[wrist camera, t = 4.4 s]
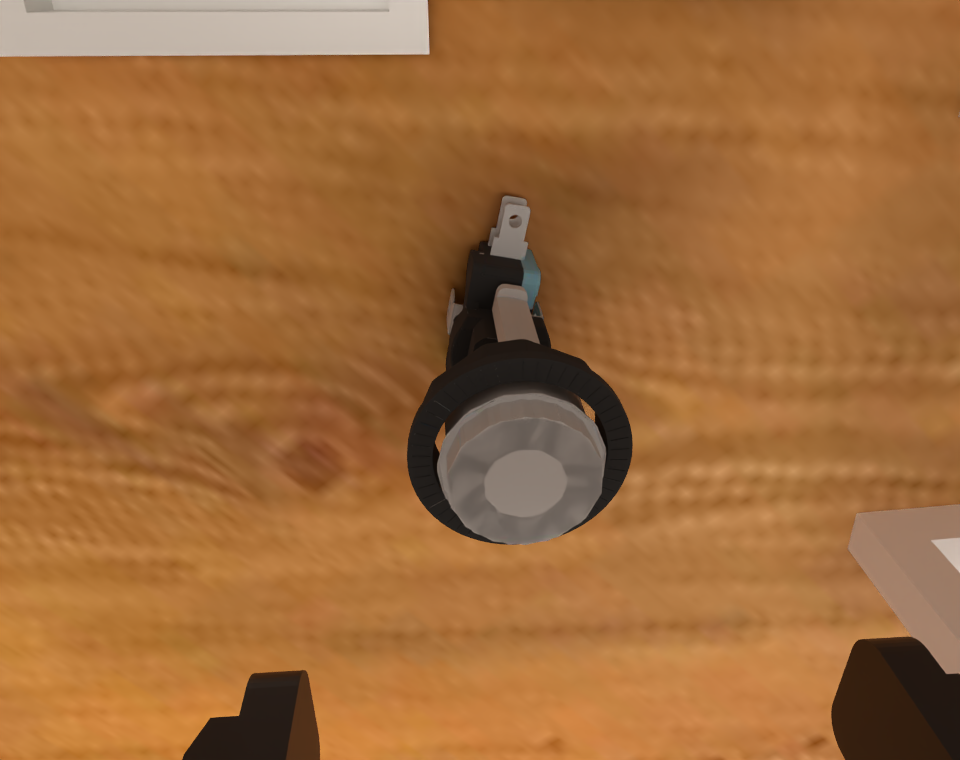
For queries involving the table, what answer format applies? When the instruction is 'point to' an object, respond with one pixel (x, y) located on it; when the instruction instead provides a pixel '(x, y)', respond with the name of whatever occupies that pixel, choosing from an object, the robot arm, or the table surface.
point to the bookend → (916, 572)
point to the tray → (213, 27)
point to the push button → (514, 410)
